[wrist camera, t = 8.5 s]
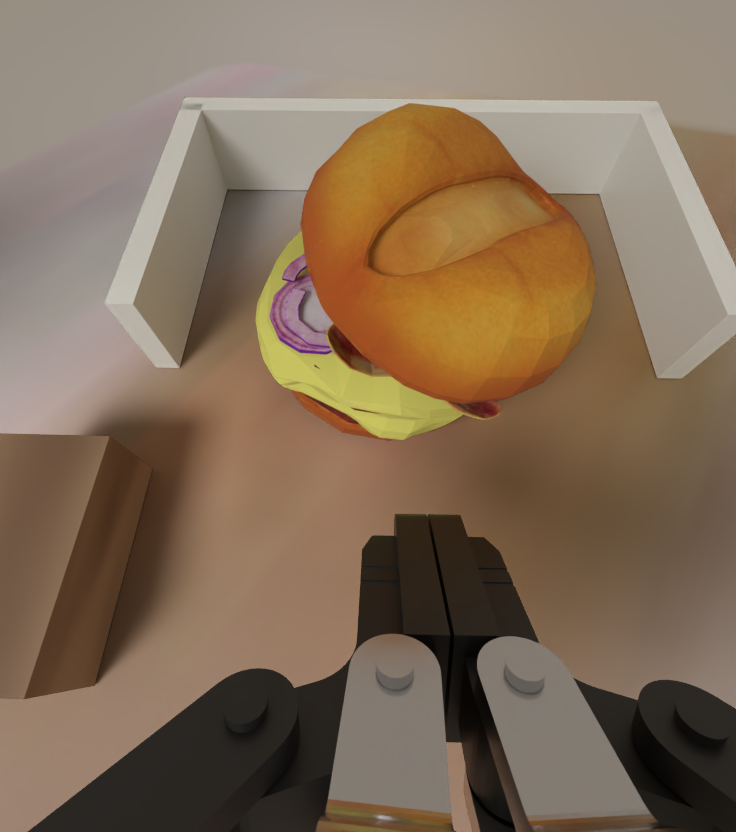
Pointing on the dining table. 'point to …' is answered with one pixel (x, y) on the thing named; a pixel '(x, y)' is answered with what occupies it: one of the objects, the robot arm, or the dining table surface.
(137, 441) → the dining table surface
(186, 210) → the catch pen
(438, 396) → the cheeseburger
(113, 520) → the cardboard carton
